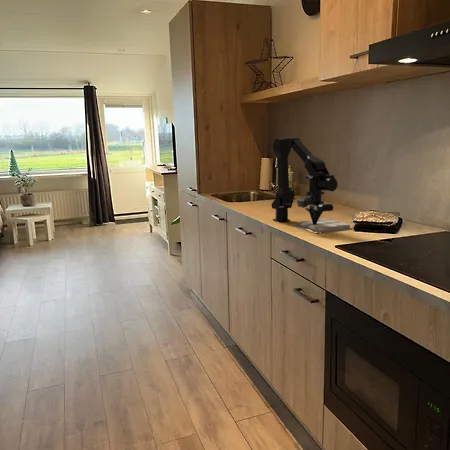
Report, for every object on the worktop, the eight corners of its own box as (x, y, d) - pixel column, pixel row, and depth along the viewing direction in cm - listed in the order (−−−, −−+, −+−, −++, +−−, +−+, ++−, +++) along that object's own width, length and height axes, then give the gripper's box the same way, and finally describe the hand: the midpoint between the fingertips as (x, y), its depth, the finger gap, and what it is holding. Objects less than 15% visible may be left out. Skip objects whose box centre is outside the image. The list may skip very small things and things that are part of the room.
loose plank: (299, 224, 194) (299, 221, 194) (316, 222, 198) (317, 219, 198) (320, 231, 180) (320, 227, 179) (338, 229, 184) (339, 226, 183)
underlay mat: (292, 225, 194) (292, 224, 194) (325, 221, 202) (325, 221, 202) (316, 233, 177) (316, 233, 177) (352, 229, 185) (352, 228, 185)
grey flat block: (317, 222, 198) (317, 219, 198) (327, 221, 200) (327, 218, 200) (339, 229, 184) (339, 225, 183) (349, 228, 186) (350, 224, 186)
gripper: (288, 188, 189) (287, 222, 192) (312, 192, 172) (311, 229, 175) (308, 187, 193) (308, 220, 196) (334, 191, 176) (333, 227, 179)
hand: (314, 224), depth 187 cm, fingers closed
